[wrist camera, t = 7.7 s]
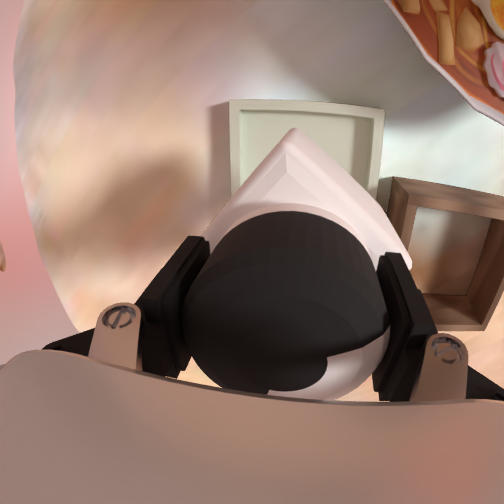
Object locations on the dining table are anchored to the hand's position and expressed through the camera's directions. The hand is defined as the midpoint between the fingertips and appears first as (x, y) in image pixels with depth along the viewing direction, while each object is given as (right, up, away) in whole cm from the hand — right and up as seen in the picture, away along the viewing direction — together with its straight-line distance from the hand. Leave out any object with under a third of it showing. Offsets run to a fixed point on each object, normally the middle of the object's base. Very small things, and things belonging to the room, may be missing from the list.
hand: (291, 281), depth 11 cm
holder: (+17, +1, +15) cm, 22 cm away
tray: (+3, +8, +14) cm, 17 cm away
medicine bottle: (+1, +4, +7) cm, 8 cm away
